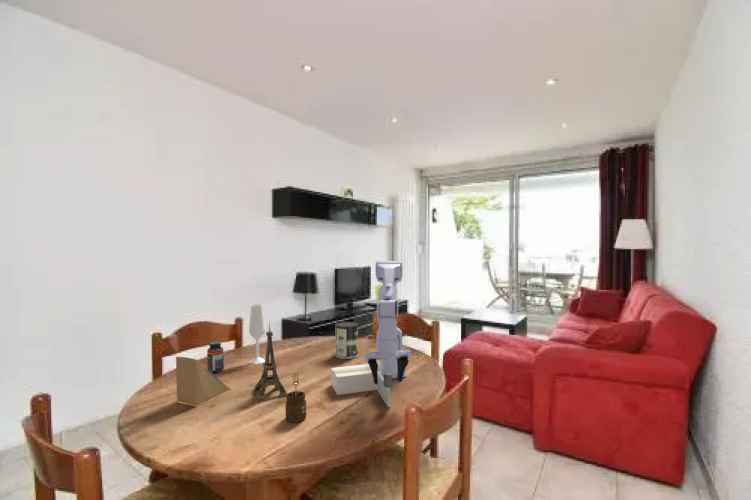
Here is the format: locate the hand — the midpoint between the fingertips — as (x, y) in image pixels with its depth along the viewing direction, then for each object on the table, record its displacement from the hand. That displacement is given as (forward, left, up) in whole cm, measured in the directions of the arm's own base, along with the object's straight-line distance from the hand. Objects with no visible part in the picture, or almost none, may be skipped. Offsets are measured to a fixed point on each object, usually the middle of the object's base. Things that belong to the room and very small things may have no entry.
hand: (387, 382), depth 118 cm
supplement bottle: (+53, -52, -8) cm, 74 cm away
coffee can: (-1, -55, -8) cm, 55 cm away
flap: (0, -5, -7) cm, 9 cm away
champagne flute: (+37, -59, -8) cm, 70 cm away
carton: (+6, -18, -7) cm, 20 cm away
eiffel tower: (+34, -22, -8) cm, 41 cm away
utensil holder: (+28, -1, -8) cm, 29 cm away
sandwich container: (+54, -27, -8) cm, 61 cm away
